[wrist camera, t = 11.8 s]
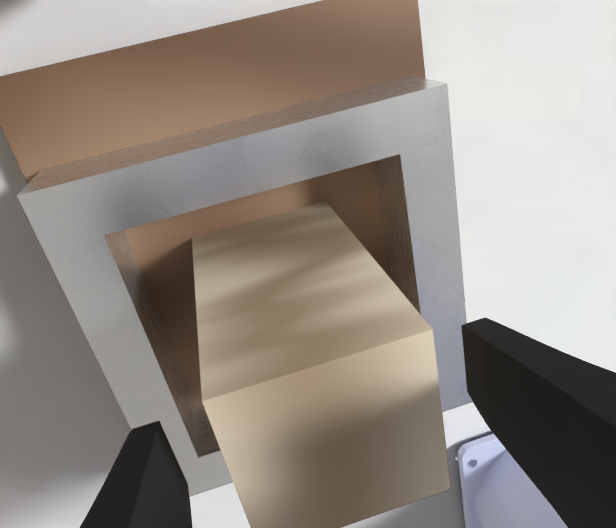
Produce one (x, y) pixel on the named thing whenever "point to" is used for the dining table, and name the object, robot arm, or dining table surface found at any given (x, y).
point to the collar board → (234, 183)
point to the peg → (315, 373)
